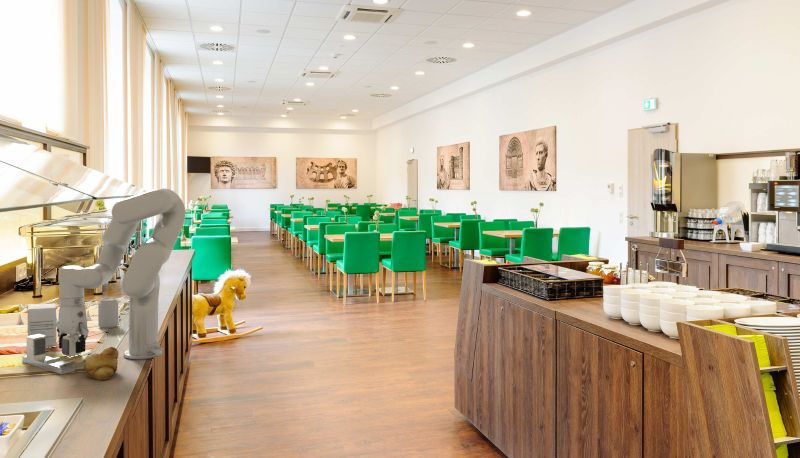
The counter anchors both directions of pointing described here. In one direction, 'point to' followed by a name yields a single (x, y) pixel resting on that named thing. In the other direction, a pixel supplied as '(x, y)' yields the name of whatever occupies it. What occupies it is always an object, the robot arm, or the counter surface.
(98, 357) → the bread roll
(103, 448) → the counter surface
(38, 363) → the rail
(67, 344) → the finger
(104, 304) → the grey upright block
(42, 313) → the supplement box
